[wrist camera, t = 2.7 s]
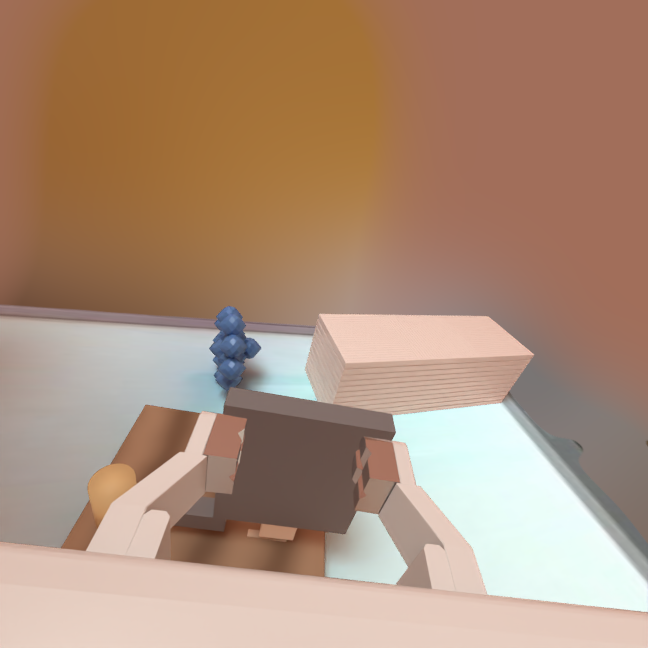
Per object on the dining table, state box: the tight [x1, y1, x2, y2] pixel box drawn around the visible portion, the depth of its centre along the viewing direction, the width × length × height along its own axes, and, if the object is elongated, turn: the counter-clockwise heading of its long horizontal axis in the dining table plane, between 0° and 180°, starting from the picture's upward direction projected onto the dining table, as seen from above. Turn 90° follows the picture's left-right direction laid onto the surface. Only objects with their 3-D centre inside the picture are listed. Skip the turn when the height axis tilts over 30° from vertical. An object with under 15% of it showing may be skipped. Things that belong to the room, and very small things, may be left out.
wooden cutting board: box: [61, 405, 325, 577], centre depth 35 cm, size 21×16×3 cm
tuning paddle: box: [88, 387, 396, 540], centre depth 27 cm, size 21×3×16 cm, turn 90°
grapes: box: [209, 306, 261, 390], centre depth 47 cm, size 12×7×12 cm, turn 17°
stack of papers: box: [305, 314, 534, 415], centre depth 55 cm, size 32×11×11 cm, turn 109°
